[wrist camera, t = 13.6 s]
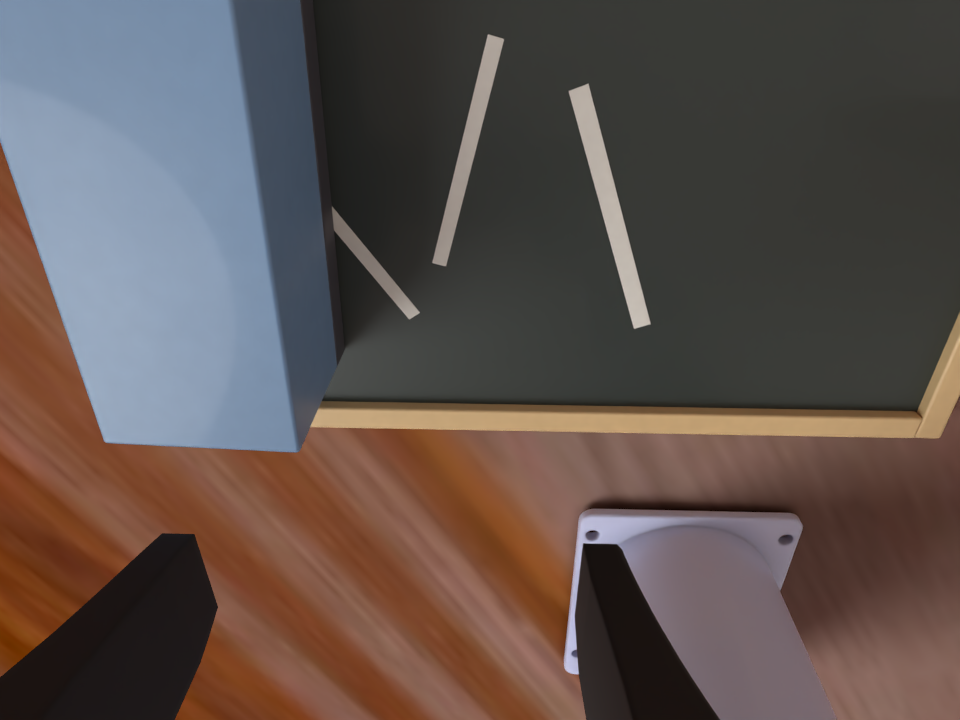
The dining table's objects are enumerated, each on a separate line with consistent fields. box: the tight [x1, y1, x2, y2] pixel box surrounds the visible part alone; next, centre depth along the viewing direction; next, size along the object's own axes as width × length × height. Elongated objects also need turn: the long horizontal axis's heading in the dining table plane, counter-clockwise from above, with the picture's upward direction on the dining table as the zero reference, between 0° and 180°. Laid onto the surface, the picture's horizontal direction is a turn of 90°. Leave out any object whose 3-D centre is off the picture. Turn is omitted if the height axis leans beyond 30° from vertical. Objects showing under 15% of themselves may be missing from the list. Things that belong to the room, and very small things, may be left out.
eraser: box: [0, 0, 345, 452], centre depth 15 cm, size 10×5×5 cm, turn 178°
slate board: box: [310, 0, 960, 438], centre depth 17 cm, size 14×26×1 cm, turn 90°
